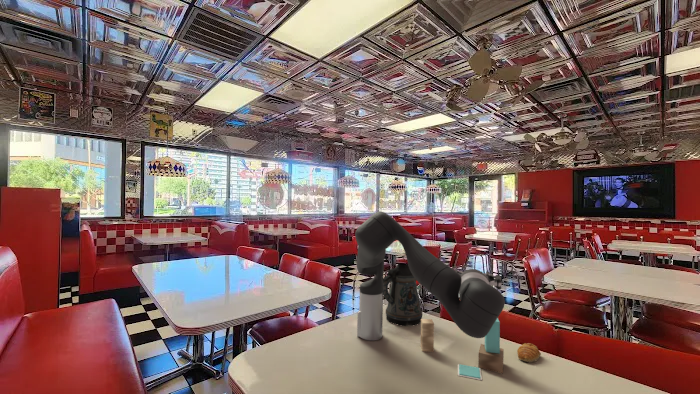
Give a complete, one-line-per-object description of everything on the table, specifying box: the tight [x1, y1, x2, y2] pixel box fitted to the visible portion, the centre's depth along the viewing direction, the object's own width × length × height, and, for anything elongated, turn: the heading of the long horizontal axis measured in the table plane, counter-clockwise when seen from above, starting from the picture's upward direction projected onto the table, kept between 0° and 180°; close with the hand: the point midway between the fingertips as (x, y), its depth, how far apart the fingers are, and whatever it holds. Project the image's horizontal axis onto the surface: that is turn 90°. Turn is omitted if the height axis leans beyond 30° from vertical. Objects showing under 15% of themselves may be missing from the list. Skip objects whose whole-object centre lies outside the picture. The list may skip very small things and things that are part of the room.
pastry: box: [517, 342, 542, 364], centre depth 107 cm, size 9×7×4 cm
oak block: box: [419, 318, 435, 353], centre depth 112 cm, size 4×4×10 cm
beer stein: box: [383, 262, 423, 327], centre depth 139 cm, size 16×19×25 cm
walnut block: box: [477, 343, 505, 374], centre depth 101 cm, size 7×7×5 cm
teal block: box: [484, 317, 501, 354], centre depth 101 cm, size 4×4×10 cm
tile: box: [457, 363, 483, 381], centre depth 96 cm, size 7×7×1 cm
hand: (471, 273), depth 91 cm, fingers open, 8 cm apart
